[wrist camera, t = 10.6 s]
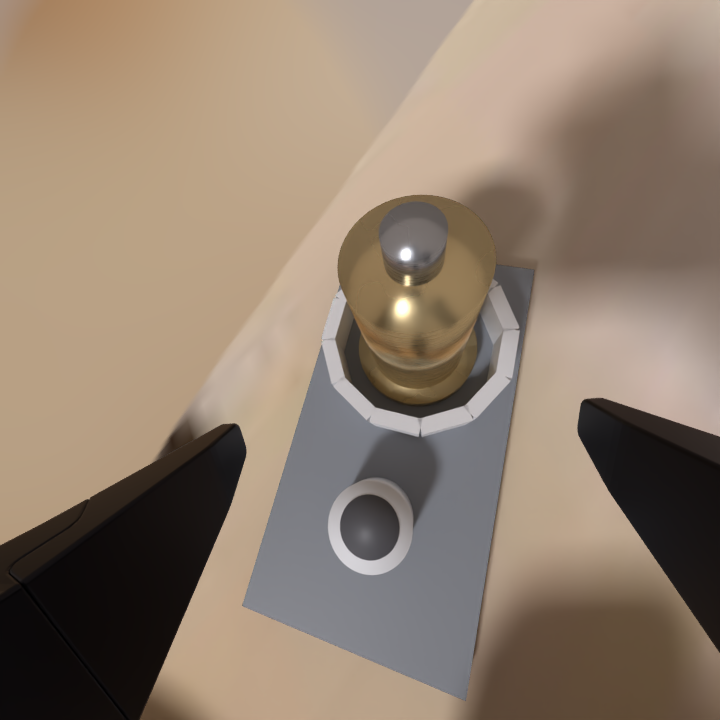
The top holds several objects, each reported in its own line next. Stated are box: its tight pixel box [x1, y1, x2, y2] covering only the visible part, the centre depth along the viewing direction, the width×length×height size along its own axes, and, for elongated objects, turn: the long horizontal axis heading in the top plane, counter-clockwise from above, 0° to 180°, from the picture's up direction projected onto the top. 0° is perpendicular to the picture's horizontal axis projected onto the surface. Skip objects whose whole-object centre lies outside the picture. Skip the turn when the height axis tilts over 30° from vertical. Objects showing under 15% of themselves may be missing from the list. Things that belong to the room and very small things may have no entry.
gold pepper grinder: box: [338, 195, 496, 406], centre depth 15 cm, size 7×7×12 cm
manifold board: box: [242, 265, 534, 701], centre depth 19 cm, size 23×12×5 cm, turn 165°
